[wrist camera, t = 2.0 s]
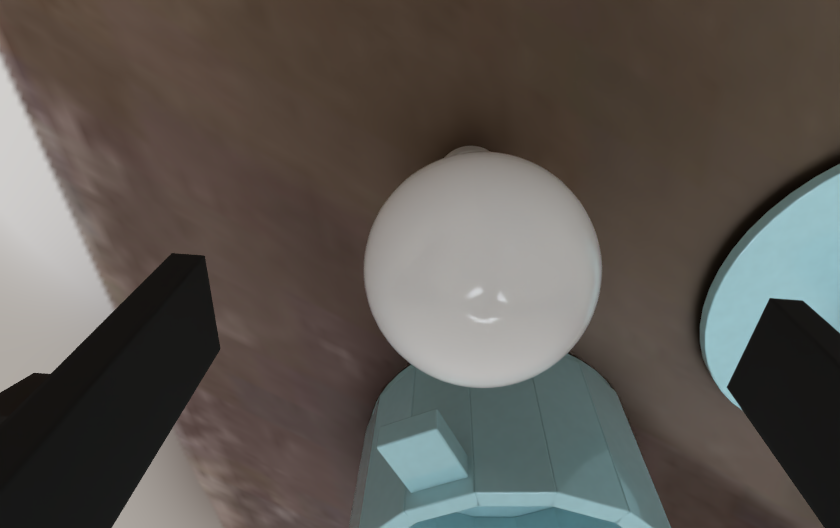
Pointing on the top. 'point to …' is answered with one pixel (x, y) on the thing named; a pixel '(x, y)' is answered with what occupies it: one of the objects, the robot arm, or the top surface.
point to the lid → (775, 273)
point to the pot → (503, 456)
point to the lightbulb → (482, 269)
